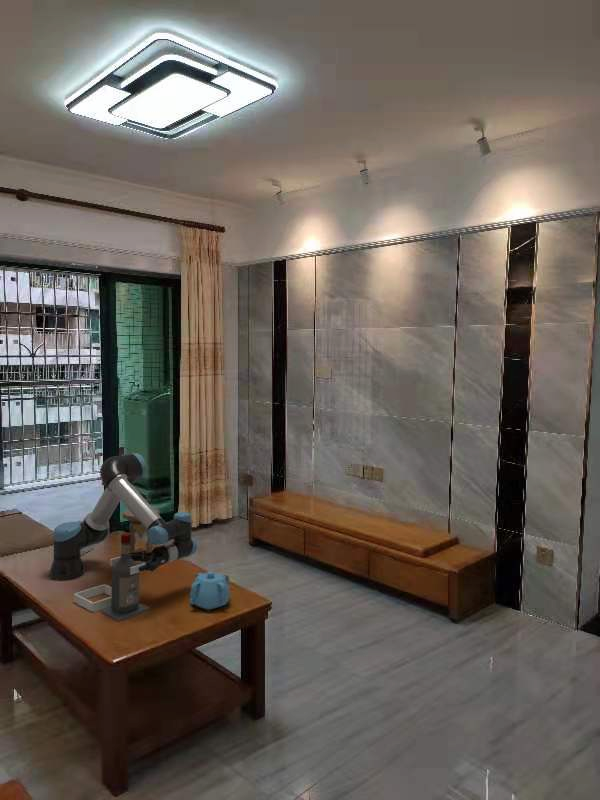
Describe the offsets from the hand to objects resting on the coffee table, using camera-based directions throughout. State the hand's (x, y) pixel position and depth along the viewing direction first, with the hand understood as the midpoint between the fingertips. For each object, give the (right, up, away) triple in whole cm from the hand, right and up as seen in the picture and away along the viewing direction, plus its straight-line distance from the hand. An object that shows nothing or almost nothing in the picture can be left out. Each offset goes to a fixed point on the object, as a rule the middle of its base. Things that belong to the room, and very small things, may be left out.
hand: (120, 566), depth 228 cm
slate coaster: (+1, -18, +3) cm, 19 cm away
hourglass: (-9, -15, +61) cm, 63 cm away
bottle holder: (-12, -18, +11) cm, 24 cm away
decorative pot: (+33, -19, +12) cm, 40 cm away
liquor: (+1, -18, +3) cm, 18 cm away
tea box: (-44, -13, +71) cm, 85 cm away
